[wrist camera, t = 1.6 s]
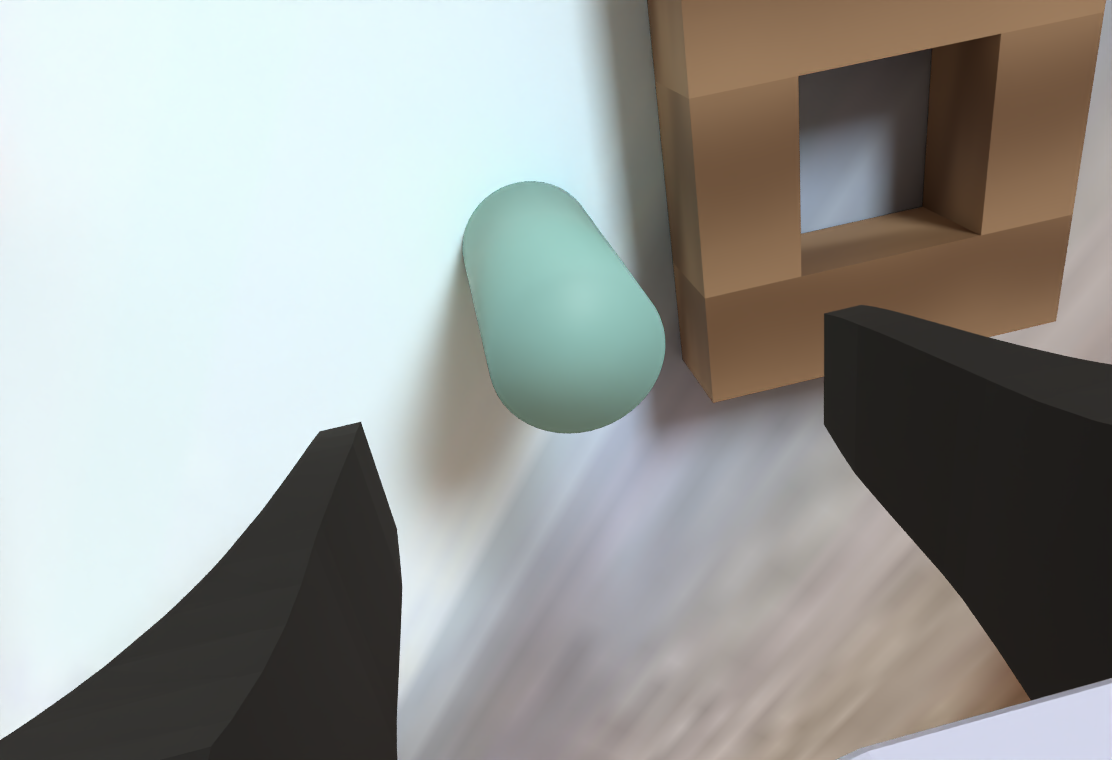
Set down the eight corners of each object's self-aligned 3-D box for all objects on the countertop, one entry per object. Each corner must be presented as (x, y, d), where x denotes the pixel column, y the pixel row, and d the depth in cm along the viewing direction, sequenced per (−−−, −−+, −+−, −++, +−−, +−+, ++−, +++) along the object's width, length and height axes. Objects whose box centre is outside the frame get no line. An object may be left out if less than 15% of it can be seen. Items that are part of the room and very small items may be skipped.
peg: (602, 293, 21) (673, 410, 15) (477, 321, 20) (507, 450, 15) (583, 168, 19) (655, 253, 14) (448, 196, 19) (471, 293, 14)
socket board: (994, 286, 23) (1055, 321, 20) (682, 359, 22) (713, 403, 20) (1054, -250, 17) (1149, -278, 15) (629, -173, 16) (666, -190, 14)
